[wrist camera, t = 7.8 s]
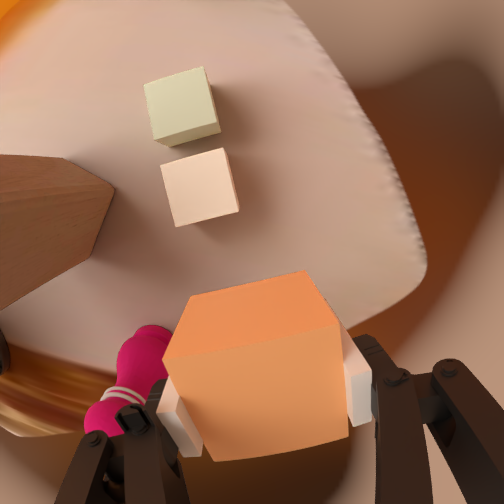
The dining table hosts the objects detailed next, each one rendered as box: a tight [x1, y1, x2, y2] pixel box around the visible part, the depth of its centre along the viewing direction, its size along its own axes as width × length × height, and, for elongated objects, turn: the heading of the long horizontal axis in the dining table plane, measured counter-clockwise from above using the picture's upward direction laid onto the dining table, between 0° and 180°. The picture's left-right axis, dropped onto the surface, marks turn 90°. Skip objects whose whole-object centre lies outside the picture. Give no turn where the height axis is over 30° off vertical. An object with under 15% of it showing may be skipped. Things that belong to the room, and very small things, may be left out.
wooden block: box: [0, 155, 115, 311], centre depth 22 cm, size 10×10×20 cm
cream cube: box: [160, 148, 240, 227], centre depth 29 cm, size 6×6×6 cm
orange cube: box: [162, 270, 348, 462], centre depth 13 cm, size 6×6×6 cm
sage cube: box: [143, 66, 222, 147], centre depth 27 cm, size 6×6×6 cm
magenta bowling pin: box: [84, 325, 173, 437], centre depth 26 cm, size 7×7×20 cm
